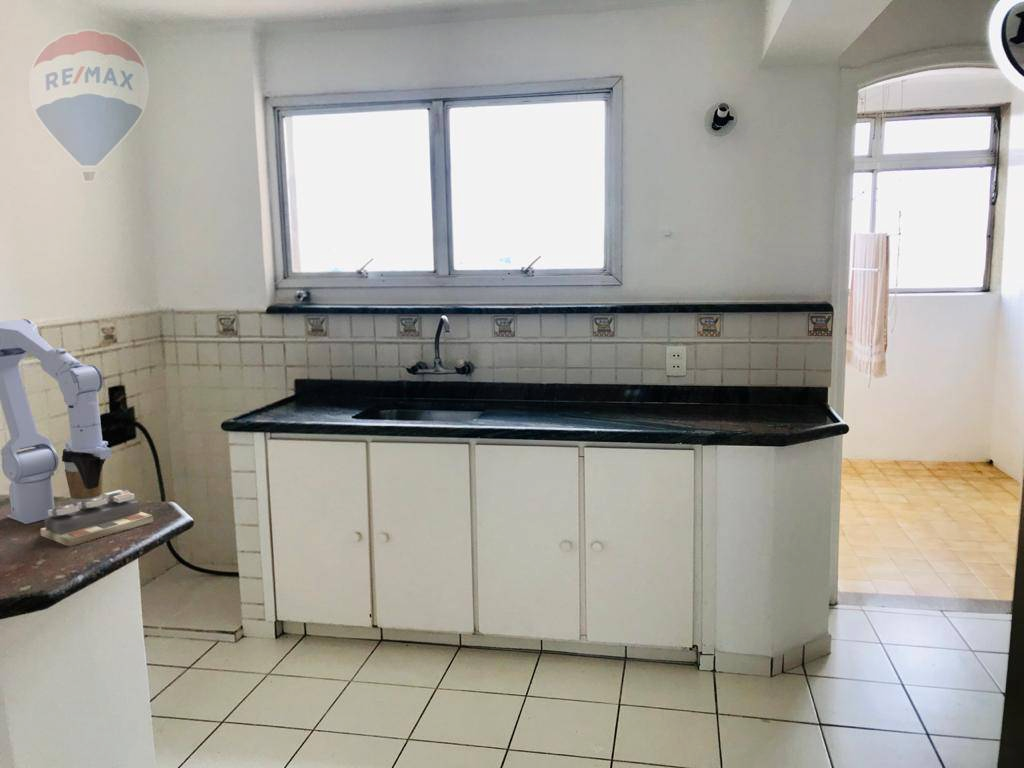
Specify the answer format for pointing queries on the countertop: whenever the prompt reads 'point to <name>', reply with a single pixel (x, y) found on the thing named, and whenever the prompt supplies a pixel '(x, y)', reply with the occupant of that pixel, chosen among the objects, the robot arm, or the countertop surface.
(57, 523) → the switch unit
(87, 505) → the rocker middle
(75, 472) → the coffee cup
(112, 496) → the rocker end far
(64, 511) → the rocker end near
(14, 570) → the countertop surface
